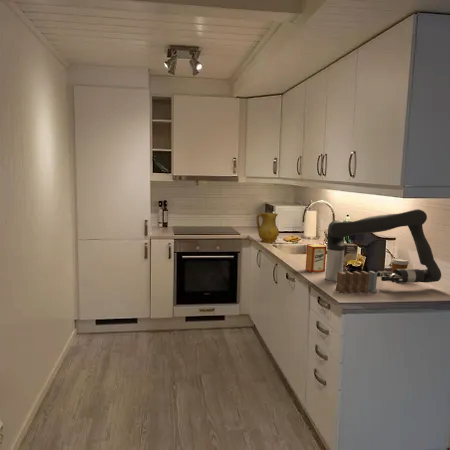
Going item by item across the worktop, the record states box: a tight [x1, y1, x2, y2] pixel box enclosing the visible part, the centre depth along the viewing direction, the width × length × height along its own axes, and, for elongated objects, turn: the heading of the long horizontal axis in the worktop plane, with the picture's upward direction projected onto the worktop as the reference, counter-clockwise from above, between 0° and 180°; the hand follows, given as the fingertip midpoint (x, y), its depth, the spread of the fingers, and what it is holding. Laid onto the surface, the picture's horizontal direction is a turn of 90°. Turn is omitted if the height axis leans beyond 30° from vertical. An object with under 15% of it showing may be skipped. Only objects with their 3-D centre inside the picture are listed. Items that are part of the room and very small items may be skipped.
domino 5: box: [368, 270, 378, 293], centre depth 222 cm, size 2×5×10 cm, turn 15°
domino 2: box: [344, 270, 353, 294], centre depth 218 cm, size 2×5×10 cm, turn 14°
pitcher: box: [256, 212, 280, 244], centre depth 365 cm, size 17×19×25 cm
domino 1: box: [335, 272, 345, 294], centre depth 217 cm, size 2×5×10 cm, turn 14°
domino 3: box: [352, 270, 361, 294], centre depth 220 cm, size 2×5×10 cm, turn 14°
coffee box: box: [343, 242, 359, 271], centre depth 270 cm, size 9×6×16 cm
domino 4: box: [360, 270, 369, 294], centre depth 221 cm, size 2×5×10 cm, turn 14°
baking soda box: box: [305, 244, 327, 273], centre depth 262 cm, size 10×6×16 cm
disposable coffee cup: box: [390, 257, 410, 273], centre depth 248 cm, size 10×10×12 cm
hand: (376, 276), depth 222 cm, fingers open, 8 cm apart
